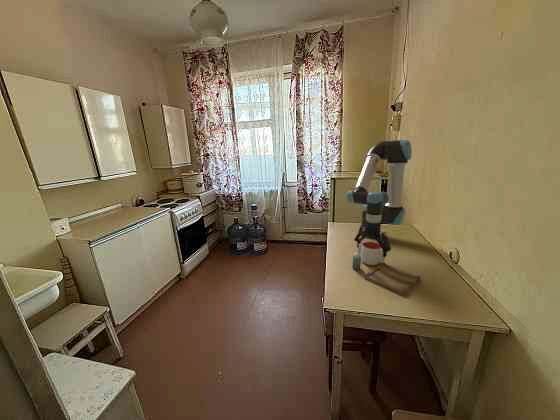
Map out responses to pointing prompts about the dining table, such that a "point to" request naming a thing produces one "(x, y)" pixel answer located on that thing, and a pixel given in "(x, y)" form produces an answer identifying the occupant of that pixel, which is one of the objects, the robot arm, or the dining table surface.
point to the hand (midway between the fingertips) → (370, 257)
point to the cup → (371, 253)
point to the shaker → (356, 261)
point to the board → (392, 278)
